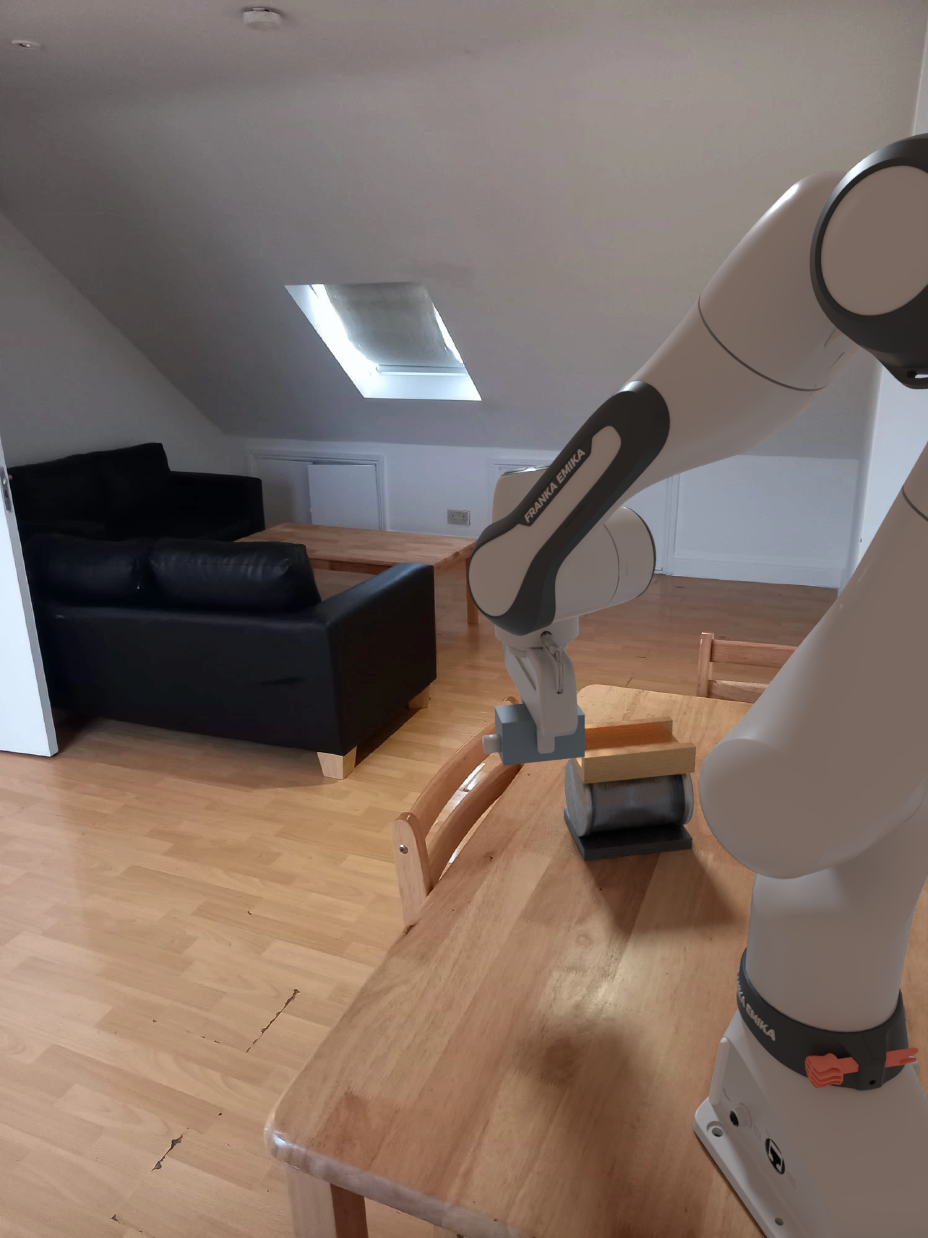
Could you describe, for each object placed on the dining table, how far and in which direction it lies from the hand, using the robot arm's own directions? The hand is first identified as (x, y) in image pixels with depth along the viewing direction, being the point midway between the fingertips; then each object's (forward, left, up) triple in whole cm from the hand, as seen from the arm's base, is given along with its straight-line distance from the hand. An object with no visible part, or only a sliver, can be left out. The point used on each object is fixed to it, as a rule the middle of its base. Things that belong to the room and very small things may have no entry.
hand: (538, 738), depth 94 cm
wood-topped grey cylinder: (+10, -14, -20) cm, 27 cm away
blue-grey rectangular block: (0, 0, -2) cm, 2 cm away
